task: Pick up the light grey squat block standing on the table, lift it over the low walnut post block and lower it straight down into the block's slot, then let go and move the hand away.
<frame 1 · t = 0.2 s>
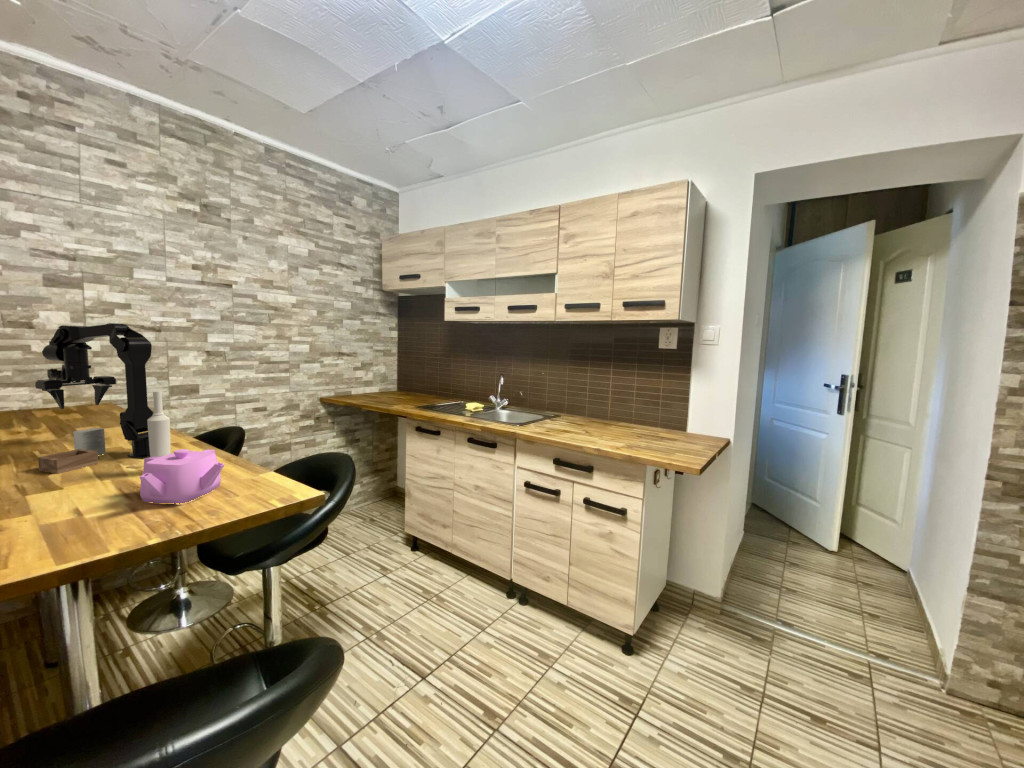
hand: (80, 406, 140), 14 cm above the table, tool pointing down, fingers open, 9 cm apart
teakettle: (183, 496, 108), on the table
post block: (69, 467, 123), on the table
bottle: (161, 472, 123), on the table
light grey squat block: (90, 456, 133), on the table
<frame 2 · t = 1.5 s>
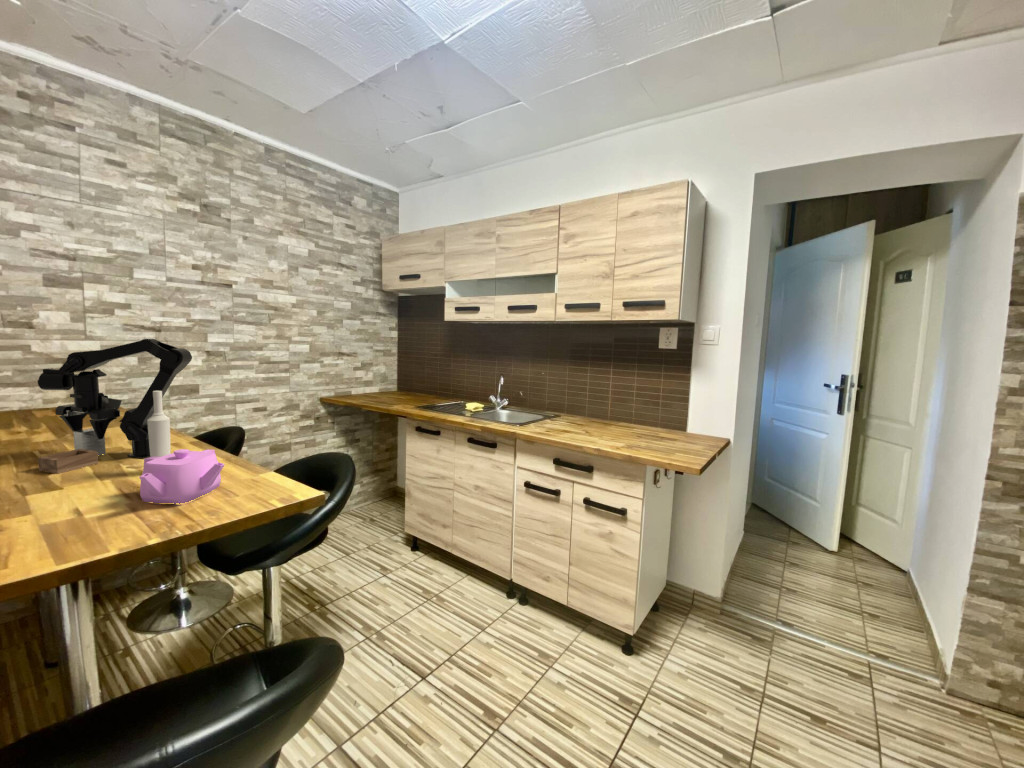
hand: (90, 437, 132), 6 cm above the table, tool pointing down, fingers open, 9 cm apart
nothing on the table moved.
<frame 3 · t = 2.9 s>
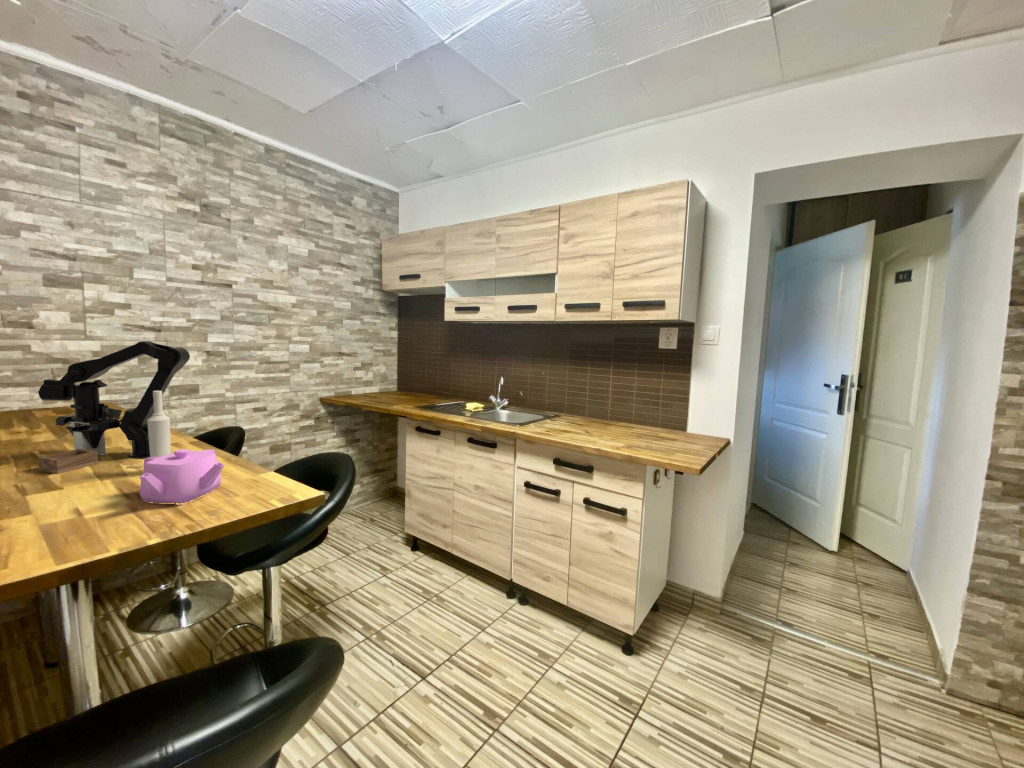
hand: (90, 447, 132), 3 cm above the table, tool pointing down, fingers closed on light grey squat block, 3 cm apart
light grey squat block: (90, 456, 133), on the table, touching gripper
everything else where it was.
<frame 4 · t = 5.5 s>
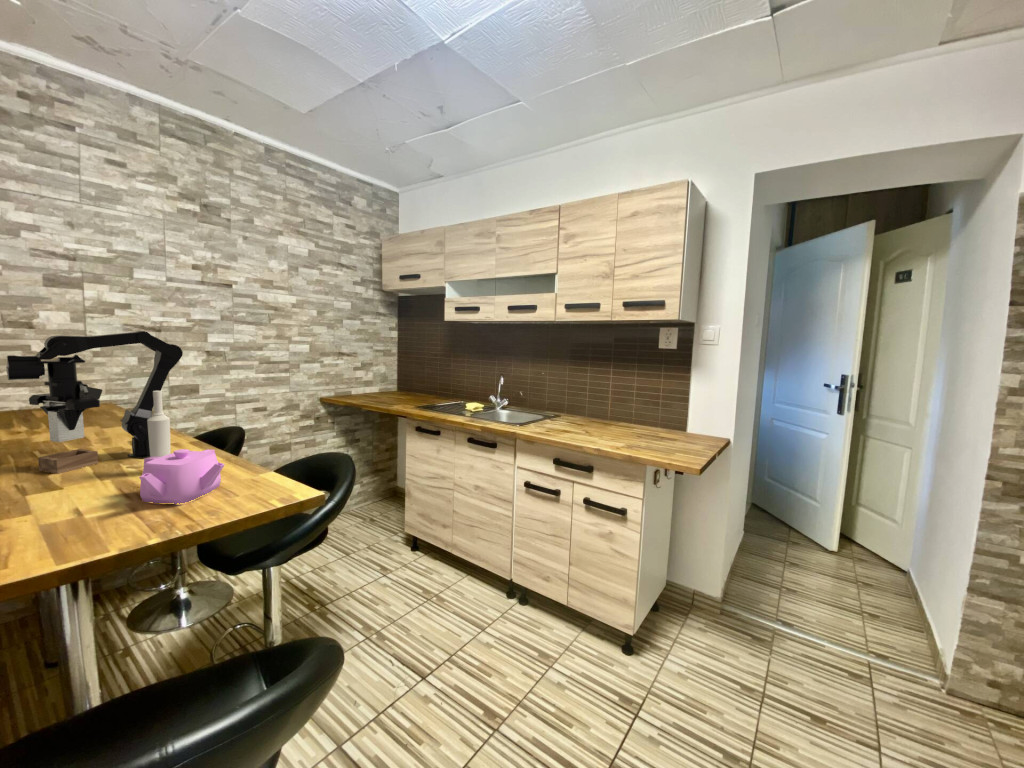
hand: (67, 429, 121), 12 cm above the table, tool pointing down, fingers closed on light grey squat block, 3 cm apart
light grey squat block: (67, 439, 122), point 9 cm above the table, touching gripper
everything else where it was.
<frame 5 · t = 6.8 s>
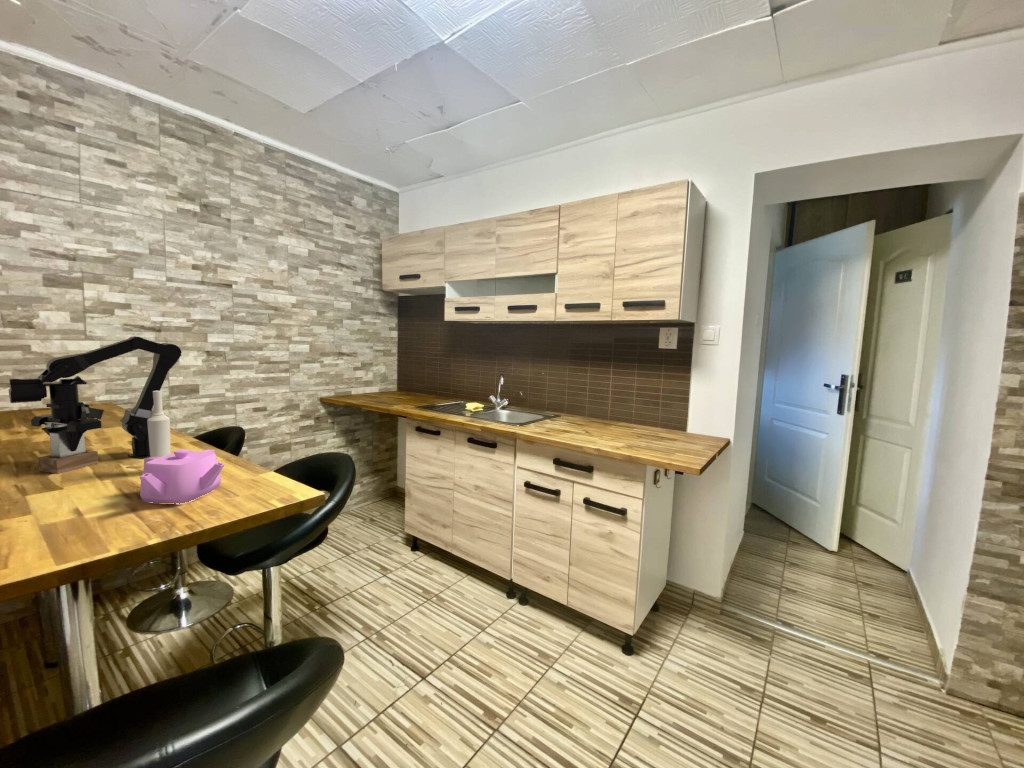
hand: (68, 450, 122), 5 cm above the table, tool pointing down, fingers closed on light grey squat block, 3 cm apart
light grey squat block: (69, 459, 122), point 2 cm above the table, touching gripper
everything else where it was.
when the fingers open (5 cm above the table, at t = 7.9 s): light grey squat block stays where it is, resting on post block.
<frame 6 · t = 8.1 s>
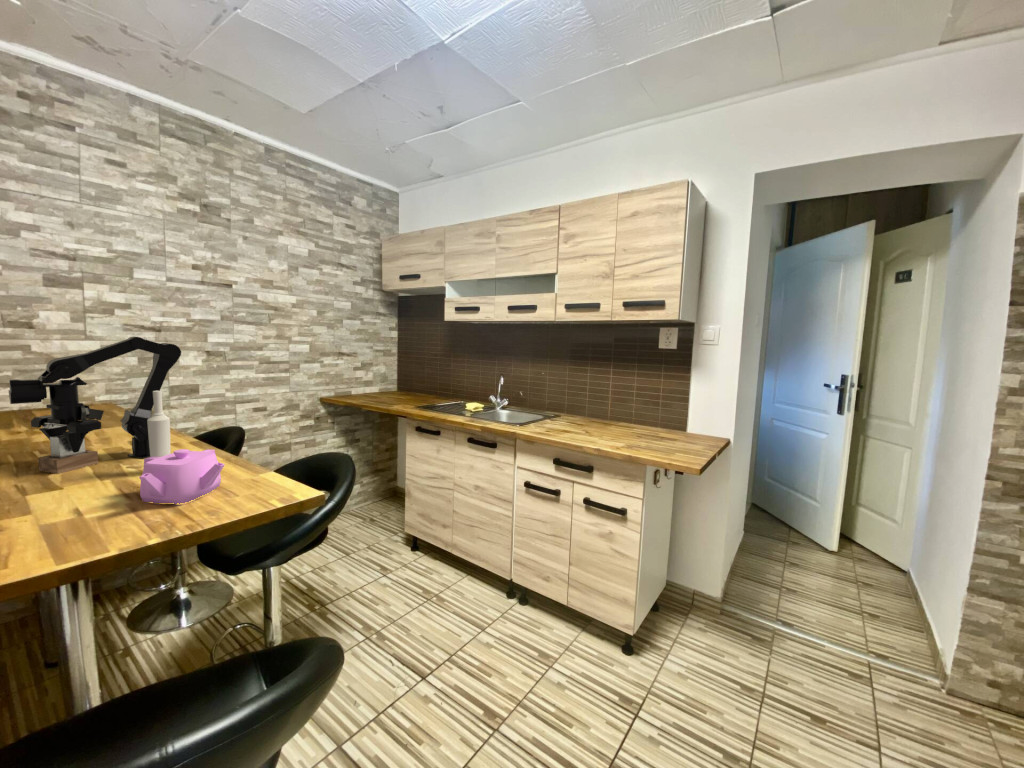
hand: (68, 451, 122), 5 cm above the table, tool pointing down, fingers open, 6 cm apart
light grey squat block: (69, 463, 122), point 1 cm above the table, touching post block
everything else where it was.
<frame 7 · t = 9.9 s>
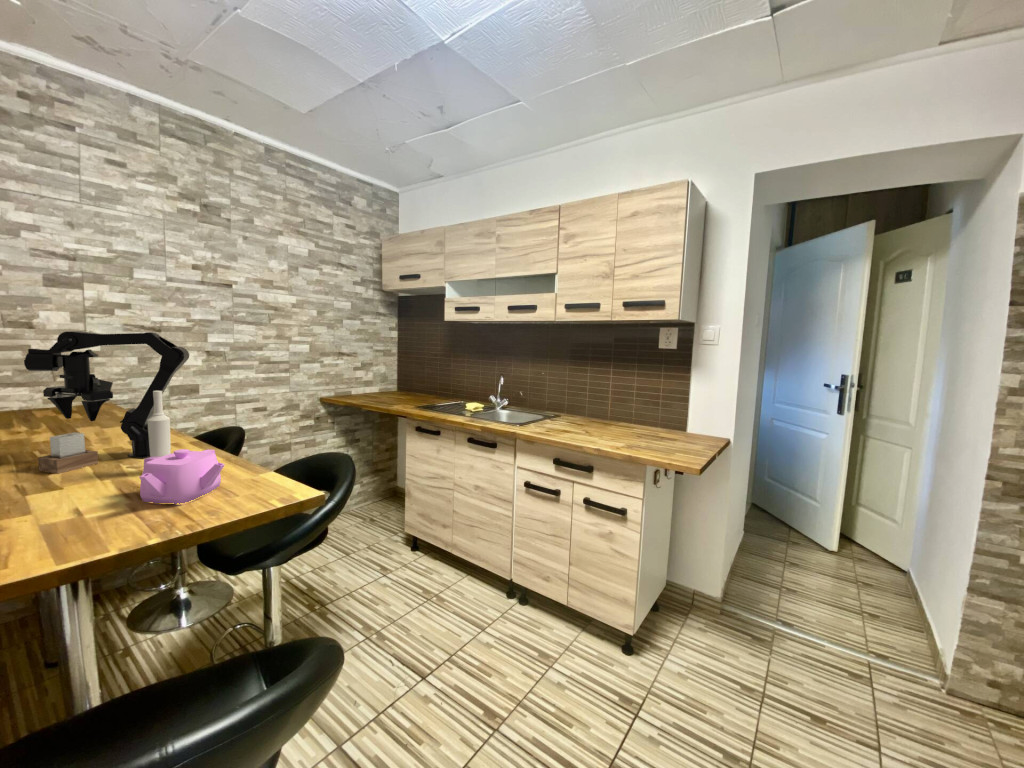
hand: (80, 419, 128), 13 cm above the table, tool pointing down, fingers open, 9 cm apart
nothing on the table moved.
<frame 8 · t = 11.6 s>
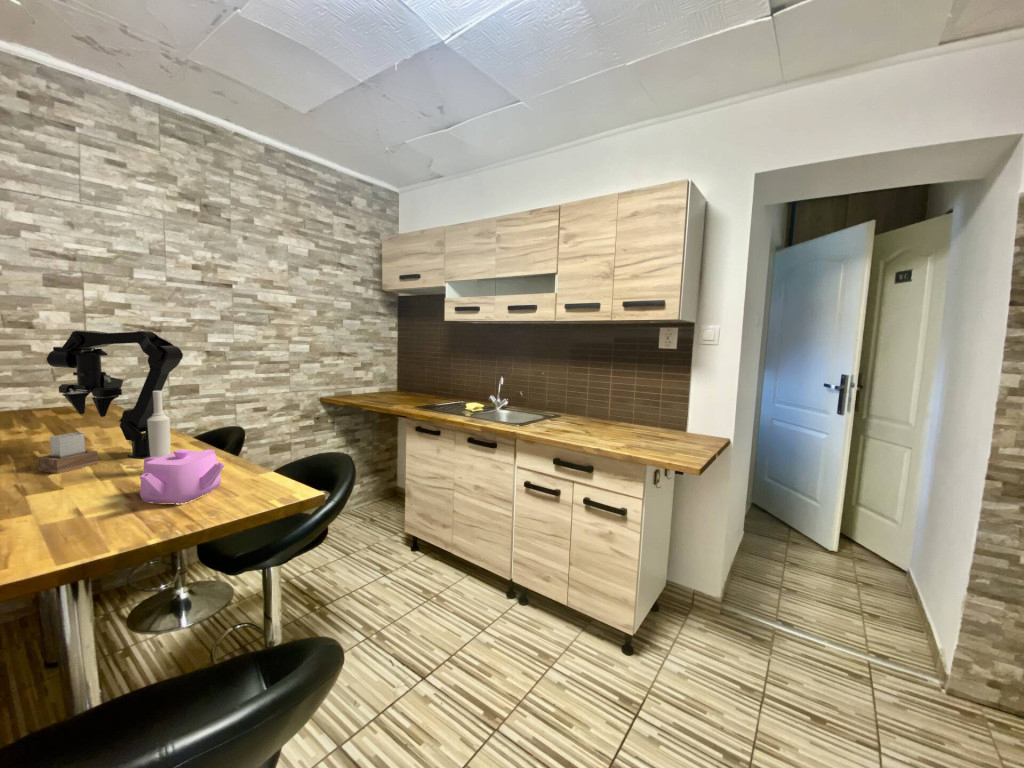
hand: (92, 415, 135), 13 cm above the table, tool pointing down, fingers open, 9 cm apart
nothing on the table moved.
at the end: light grey squat block 0.0 cm off-centre on the post block, point 1.0 cm above the post block's base; light grey squat block tilted 0°; the gripper is holding nothing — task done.
